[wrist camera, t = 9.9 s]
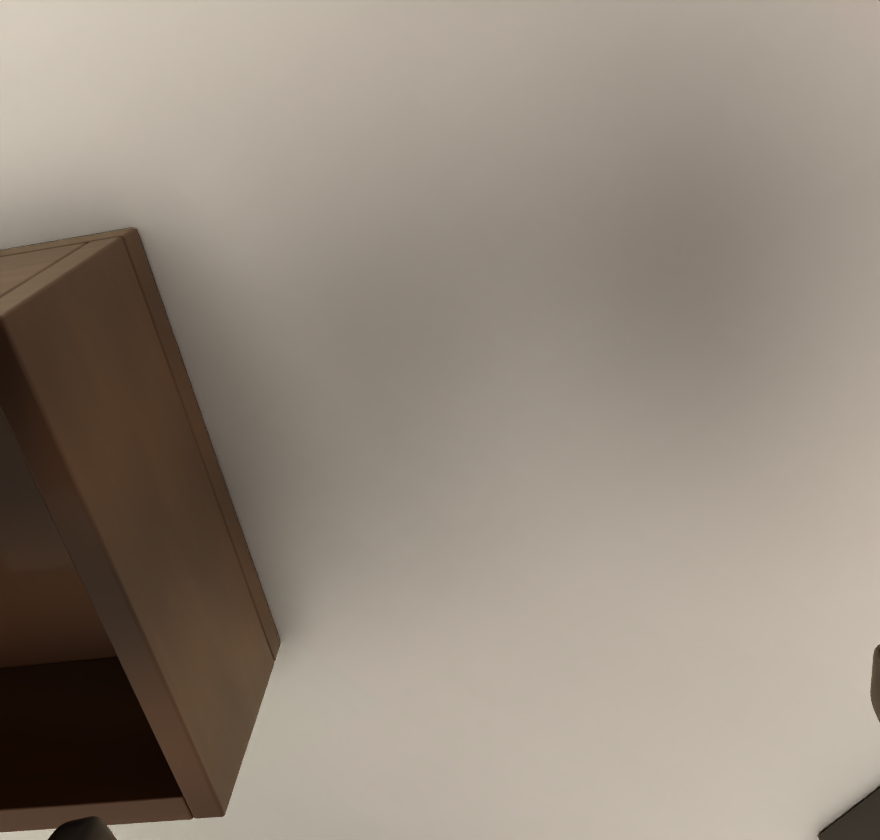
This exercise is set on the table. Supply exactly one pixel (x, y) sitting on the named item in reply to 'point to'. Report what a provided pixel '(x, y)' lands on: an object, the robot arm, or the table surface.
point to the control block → (857, 822)
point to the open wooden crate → (114, 555)
